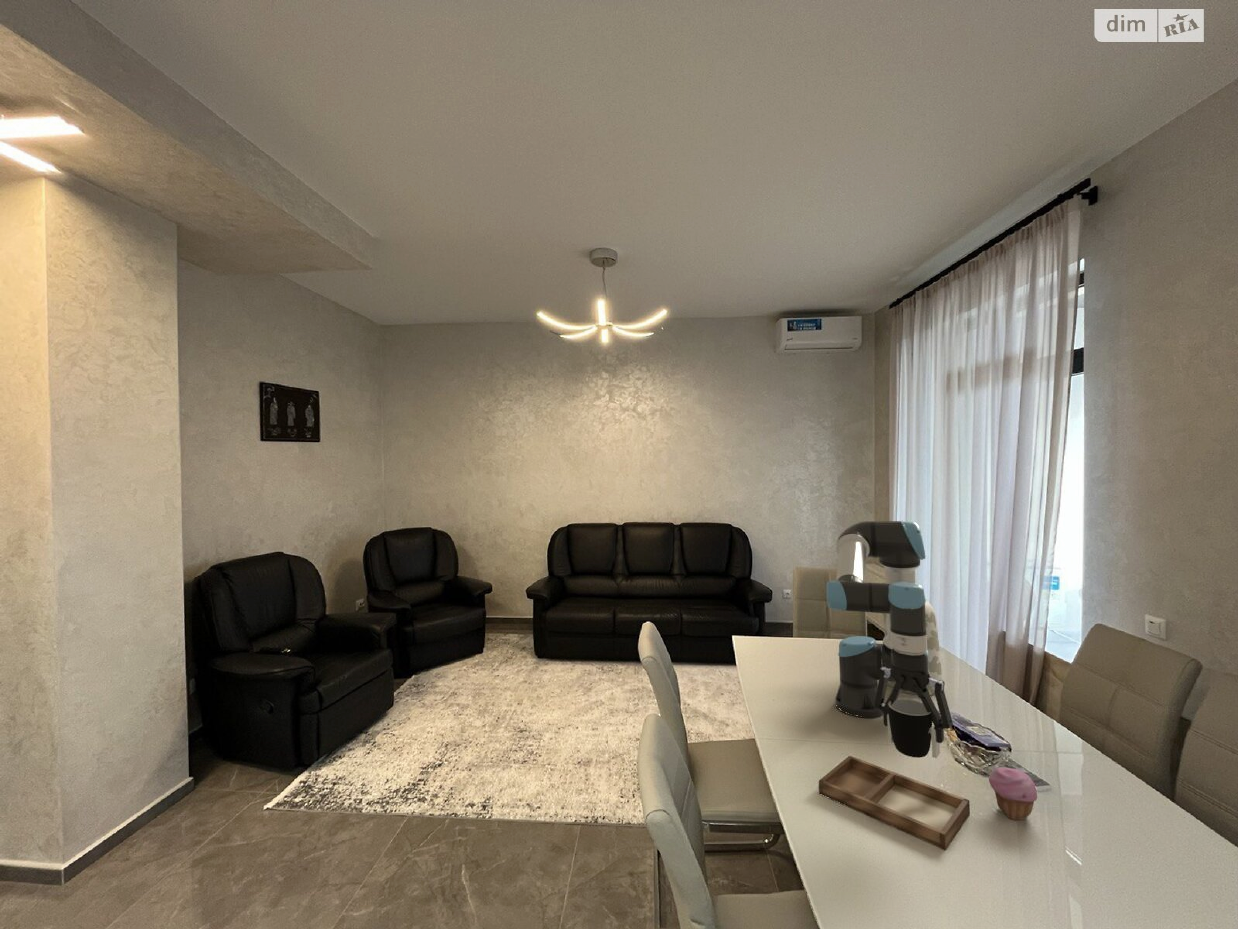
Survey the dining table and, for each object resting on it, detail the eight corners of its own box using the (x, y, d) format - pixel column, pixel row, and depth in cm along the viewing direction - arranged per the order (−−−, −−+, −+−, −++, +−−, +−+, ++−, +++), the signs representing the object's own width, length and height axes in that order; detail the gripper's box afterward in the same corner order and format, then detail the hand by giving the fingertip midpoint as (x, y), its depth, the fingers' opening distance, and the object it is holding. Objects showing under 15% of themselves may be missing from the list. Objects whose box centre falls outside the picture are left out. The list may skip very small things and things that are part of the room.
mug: (937, 764, 116) (935, 717, 116) (891, 757, 120) (889, 712, 120) (928, 738, 127) (926, 696, 128) (886, 733, 131) (885, 691, 131)
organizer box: (819, 794, 131) (818, 781, 131) (849, 767, 143) (849, 755, 143) (945, 850, 110) (944, 834, 110) (969, 814, 122) (969, 800, 122)
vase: (935, 679, 201) (931, 578, 203) (948, 698, 184) (943, 588, 185) (877, 674, 208) (873, 577, 209) (884, 692, 190) (879, 586, 192)
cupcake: (982, 803, 126) (980, 760, 126) (1019, 802, 125) (1017, 760, 126) (1008, 827, 117) (1006, 781, 117) (1048, 827, 117) (1046, 781, 117)
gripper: (855, 644, 129) (860, 737, 128) (956, 665, 113) (961, 772, 112) (869, 637, 134) (873, 727, 133) (966, 657, 118) (972, 759, 117)
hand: (913, 747), depth 123 cm, fingers closed on mug, 9 cm apart
